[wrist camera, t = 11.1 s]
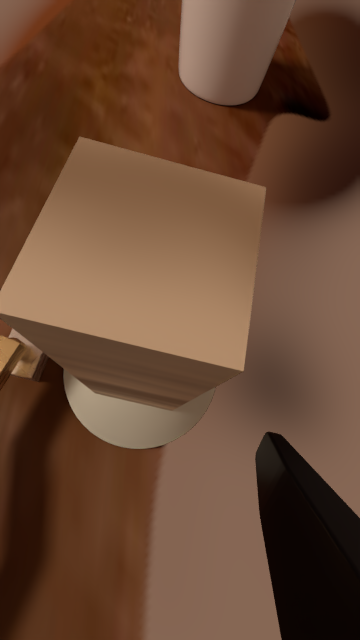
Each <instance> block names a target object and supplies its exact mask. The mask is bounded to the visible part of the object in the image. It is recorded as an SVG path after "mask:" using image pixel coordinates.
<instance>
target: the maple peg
mask: <svg viewBox="0 0 360 640" xmlns="http://www.w3.org/2000/svg"><path fill="white" fill-rule="evenodd" d="M265 193H266V187H263V186H259V185H255V184H251V183H248V182H244V181H241V180H237V179H233V178H230V177H226V176H222V175H219V174H215V173H211V172H208V171H204V170H200V169H197V168H193V167H189V166H186V165H182V164H178V163H175V162H171V161H167V160H164V159H160V158H156V157H153V156H149V155H145V154H142V153H138V152H134V151H131V150H127V149H123V148H120V147H116V146H112V145H109V144H105V143H101V142H98V141H94V140H90V139H87V138H83V137H79V139H78V141H77V143H76V145H75V147H74V149H73V150H72V152H71V154H70V156H69V158H68V160H67V162H66V164H65V166H64V168H63V170H62V172H61V174H60V176H59V178H58V180H57V182H56V184H55V186H54V188H53V190H52V191H51V193H50V195H49V197H48V199H47V201H46V203H45V205H44V207H43V209H42V211H41V213H40V215H39V217H38V219H37V221H36V223H35V225H34V227H33V229H32V231H31V232H30V234H29V236H28V238H27V240H26V242H25V244H24V246H23V248H22V250H21V252H20V254H19V256H18V258H17V260H16V262H15V264H14V266H13V268H12V270H11V272H10V273H9V275H8V277H7V279H6V281H5V283H4V285H3V287H2V289H1V291H0V319H2V320H3V321H4V322H5V323H7V324H8V325H9V326H10V327H12V328H13V329H14V330H16V331H17V332H18V333H19V334H21V335H22V336H23V337H24V338H26V339H27V340H28V341H29V342H31V343H32V344H33V345H34V346H36V347H37V348H38V349H40V350H41V351H42V352H43V353H45V354H46V355H47V356H48V357H50V358H51V359H52V360H53V361H55V362H56V363H57V364H59V365H60V366H61V367H62V368H64V369H65V370H66V371H67V372H69V373H70V374H71V375H72V376H74V377H75V378H76V379H78V380H79V381H80V382H81V383H83V384H84V385H85V386H86V387H88V388H89V389H90V390H91V391H93V392H94V393H95V394H100V395H104V396H108V397H113V398H117V399H122V400H126V401H130V402H135V403H139V404H143V405H148V406H152V407H156V408H161V409H165V410H169V411H172V410H174V409H176V408H178V407H180V406H182V405H183V404H185V403H187V402H189V401H191V400H193V399H194V398H196V397H198V396H200V395H202V394H203V393H205V392H207V391H209V390H211V389H213V388H214V387H216V386H218V385H220V384H221V383H223V382H225V381H227V380H229V379H231V378H232V377H234V376H236V375H238V374H240V373H242V372H243V371H244V365H245V357H246V349H247V341H248V332H249V324H250V316H251V308H252V300H253V291H254V283H255V275H256V267H257V259H258V250H259V243H260V234H261V226H262V218H263V210H264V201H265Z"/></svg>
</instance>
